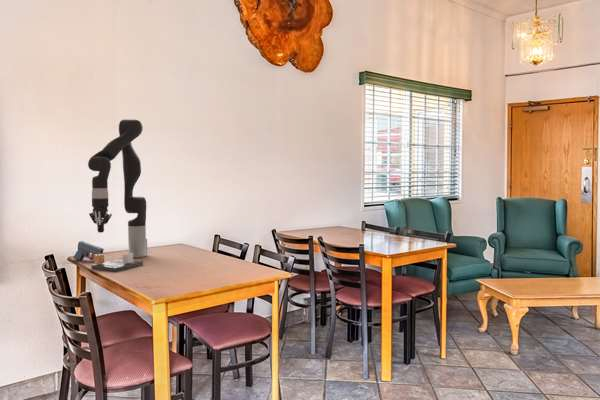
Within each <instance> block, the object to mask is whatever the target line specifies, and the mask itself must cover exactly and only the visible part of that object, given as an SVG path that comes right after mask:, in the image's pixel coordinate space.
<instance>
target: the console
mask: <svg viewBox="0 0 600 400" xmlns="http://www.w3.org/2000/svg"><path fill="white" fill-rule="evenodd" d="M141 266H144V261H143V260H135V259H133V262H132V263H123V258H116V259H112V260H108V261H104V263H102V264H94V263H92V264H91V265H90V268H91V270H98V271H104V272H113V273H117V272H118V273H119V272H122V271H127V270H130V269H133V268H137V267H141Z"/></svg>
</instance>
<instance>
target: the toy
mask: <svg viewBox="0 0 600 400" xmlns="http://www.w3.org/2000/svg"><path fill="white" fill-rule="evenodd" d="M104 250H105V249H104V248H103V247H100V246H98V245H94V244H91V243H89V242H85V241H83V240H81V241H78V243H77V250H76V252H75V253H74V255H73V259H74V260H77V261H83V260H84V258H87V259H89V261H94V255H96V254H104Z"/></svg>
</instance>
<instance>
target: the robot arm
mask: <svg viewBox="0 0 600 400" xmlns="http://www.w3.org/2000/svg"><path fill="white" fill-rule="evenodd" d="M143 129H144V127H143V123H142V122H141V120H138V119H134V118H133V119H122V120H120V121H119V123H118V134H119V135H118V136H117V137H116V138H114V139H112V140H110V141H109V142H108V143H107V144H105V146H104V147H103V148H102V150H99V151H98V152H96V153H95V154H94V155H92V156H91V157H89V159H88V163H87V167H88V169H90V170H91V171H93V172H98V174H97V175H95V176H93V177H92V179H91V187H92V189H91V207H92V208H93V209H92V212H89V213H88V215H89V218H91V221H93V224H95V225H97V229H96V230H97V232H98V233H104V231H105V225H107V224H108V223H109V220H111V217H112V213H109V209H108V207H109V191H108V190H109V189H108V188H109V187H108V185H109V184H108V181H109V180H108V179H109V176H110V171H111V168H112V165H111V164H112V163H111V161H113V160H115V158H116V157H117V156H118V155H119V154H120V153H122V154H121V157H122V170H123V171H122V172H123V182H124V184H123V185H124V191H123V193H124V196H123V198H124V201H123V204H124V210H125V212H126V213H127V214H137V216H136V217H135V218H133V219H130V220H128V221H127V234H128V235H127V236H128V238H127V239H128V253H133V259H134V258H143V257H146V256H148V238H147V237H146V236H147V234H146V229H147V228H146V223H147V221H146V220H147V199H146V197H144V196H134V195H133V193H134V188H135V186H136V184H137V182H138V180H139V178H140V177H141V174H142V167H141V166H142V165H141V164H142V163H141V158H140V157H139V155H138V154H137V152H136V151H135V149H134V147H133V143H132V142H133V141H135V140H136V139H137V138H138V137H139V136H140V135H142V132H143Z"/></svg>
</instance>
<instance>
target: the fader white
mask: <svg viewBox="0 0 600 400" xmlns="http://www.w3.org/2000/svg"><path fill="white" fill-rule="evenodd" d="M122 259H123V263H132V262H133V260H134V257H133V253H129V252H126V253H123V254H122Z"/></svg>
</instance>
